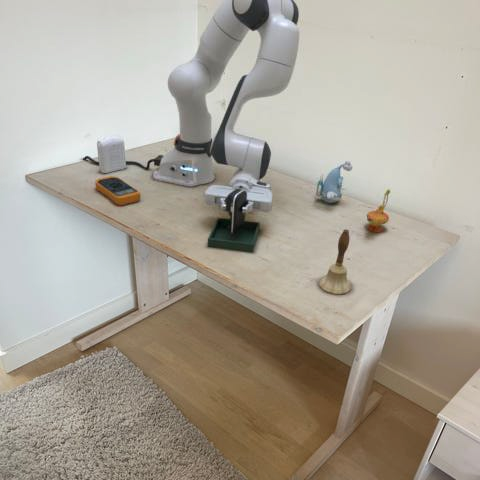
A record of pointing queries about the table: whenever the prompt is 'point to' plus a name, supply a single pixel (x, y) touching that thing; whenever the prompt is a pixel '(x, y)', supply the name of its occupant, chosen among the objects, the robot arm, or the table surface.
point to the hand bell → (337, 270)
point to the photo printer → (111, 154)
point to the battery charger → (236, 209)
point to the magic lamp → (378, 217)
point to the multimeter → (117, 190)
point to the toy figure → (332, 184)
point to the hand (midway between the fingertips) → (234, 209)
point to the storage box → (234, 236)
